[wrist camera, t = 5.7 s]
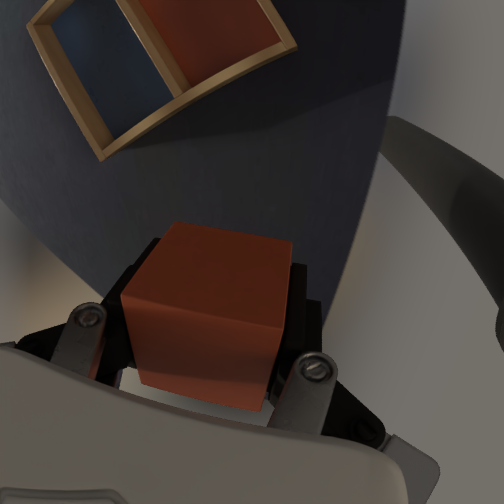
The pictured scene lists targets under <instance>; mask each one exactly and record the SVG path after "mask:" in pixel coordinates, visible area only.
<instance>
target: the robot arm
mask: <svg viewBox="0 0 504 504" xmlns="http://www.w3.org/2000/svg"><path fill="white" fill-rule="evenodd" d="M160 240H161V238H154V239H153V240H152V241H151V243H150V244H149V245H148V247H147V248H146V249H145V250H144V252H143V253H142V254H141V255H140V257H139V258H138V259H137V260H136V262H135V263H134V264H133V265H130V266H129V267H128V268H127V269H126V270H125V272H124V273H123V274H122V275H121V277H120V278H119V279H118V281H117V282H116V283H115V285H114V286H113V287H112V289H111V290H110V291H109V293H108V294H107V295H106V297H105V298H104V299H103V301H102V302H101V303H100V304H98V303H94V302H87V303H83V304H81V305H79V306H77V307H76V308H75V309H73V311H72V312H71V314H70V316H69V318H68V321H67V323H64V324H61V325H58V326H54V327H51V328H48V329H44V330H41V331H38V332H35V333H32V334H29V335H26V336H24V337H23V338H22V339H20V341H19V342H18V343H17V344H16V343H15V341H13V342H7V343H0V504H426V502H427V500H428V499H429V497H430V495H431V493H432V491H433V489H434V488H435V486H436V484H437V482H438V479H439V476H440V467H439V465H438V463H437V462H436V461H435V460H434V459H433V458H431V457H430V456H428V455H426V454H425V453H423V452H421V451H420V450H418V449H417V448H415V447H413V446H412V445H410V444H409V443H407V442H406V441H404V440H403V439H401V438H400V437H398V436H396V435H394V434H393V435H392V436H391V435H389V434H388V433H386V431H385V427H384V425H383V423H382V422H381V421H380V419H379V418H377V416H376V415H374V414H373V413H372V412H371V411H370V410H369V409H368V408H367V407H365V406H364V405H363V404H362V403H361V402H360V401H359V400H358V399H357V398H356V397H355V396H354V395H352V394H351V393H350V392H349V391H348V390H347V389H346V388H345V387H344V386H343V385H342V384H340V383H339V382H338V381H337V380H336V379H337V375H338V368H337V365H336V363H335V362H334V360H333V359H332V358H330V357H329V356H328V355H326V354H324V353H322V314H321V302H320V301H315V300H309V299H306V289H307V265H304V264H299V263H293V264H292V266H290V274H289V284H288V294H287V304H286V313H285V322H284V330H283V334H282V338H281V341H280V345H279V349H278V352H277V356H276V360H275V363H274V367H273V370H272V374H271V377H270V381H269V384H268V388H267V391H266V392H269V396H268V400H270V403H271V404H272V405H273V406H274V408H275V409H274V411H273V413H272V416H271V418H270V420H269V422H268V425H267V427H263V426H257V425H252V424H246V423H241V422H236V421H231V420H226V419H222V418H217V417H213V416H208V415H204V414H200V413H196V412H192V411H188V410H184V409H180V408H177V407H173V406H170V405H166V404H163V403H159V402H156V401H153V400H149V399H146V398H143V397H140V396H136V395H134V394H131V393H127V392H124V391H122V390H119V386H120V381H121V377H122V370H123V369H124V368H127V366H128V367H131V368H135V369H137V366H136V362H135V358H134V354H133V350H132V346H131V342H130V338H129V333H128V329H127V324H126V320H125V315H124V310H123V305H122V300H121V293H122V292H123V290H124V289H125V287H126V286H127V285H128V283H129V282H130V280H131V279H132V278H133V276H134V275H135V274H136V272H137V271H138V269H139V268H140V267H141V265H142V264H143V263H144V261H145V260H146V259H147V257H148V256H149V255H150V253H151V252H152V251H153V249H154V248H155V247H156V245H157V244H158V243H159V242H160Z"/></svg>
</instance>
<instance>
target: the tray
mask: <svg viewBox="0 0 504 504" xmlns="http://www.w3.org/2000/svg"><path fill="white" fill-rule="evenodd" d="M26 27H27V29H28V31H29V33H30V35H31V37H32V39H33V41H34V43H35V45H36V48H37V50H38V52H39V54H40V56H41V58H42V60H43V62H44V63H45V65H46V67H47V69H48V71H49V73H50V75H51V77H52V79H53V81H54V83H55V84H56V86H57V88H58V90H59V92H60V94H61V95H62V97H63V99H64V101H65V103H66V105H67V106H68V108H69V110H70V112H71V113H72V115H73V117H74V119H75V120H76V122H77V124H78V126H79V127H80V129H81V131H82V132H83V134H84V136H85V137H86V139H87V141H88V142H89V144H90V146H91V147H92V149H93V151H94V152H95V154H96V156H97V157H98V159H99V160H100V162H103V161H104V160H106V159H108V158H109V157H111V156H113V155H115V154H116V153H118V152H120V151H122V150H123V149H124V148H126V147H127V146H128V145H130V144H131V143H133V142H134V141H135V140H137V139H138V138H140V137H141V136H143V135H144V134H146V133H147V132H149V131H150V130H151V129H153V128H154V127H156V126H157V125H159V124H161V123H162V122H164V121H165V120H167V119H168V118H170V117H171V116H173V115H175V114H176V113H178V112H179V111H181V110H183V109H184V108H186V107H188V106H189V105H191V104H193V103H194V102H196V101H198V100H199V99H201V98H203V97H204V96H206V95H208V94H210V93H211V92H213V91H215V90H217V89H219V88H220V87H222V86H224V85H226V84H228V83H230V82H232V81H233V80H235V79H237V78H239V77H241V76H243V75H245V74H247V73H249V72H251V71H253V70H255V69H257V68H259V67H261V66H263V65H265V64H268V63H270V62H272V61H274V60H276V59H278V58H280V57H283V56H285V55H287V54H289V53H292V52H294V51H296V50H297V44H296V42H295V40H294V38H293V37H292V35H291V33H290V32H289V30H288V28H287V27H286V25H285V23H284V22H283V20H282V18H281V17H280V15H279V14H278V12H277V10H276V9H275V7H274V6H273V4H272V3H271V1H270V0H48V1H47V2H46V3H45V5H44V6H43V7H42V8H41V9H40V10H39V11H38V12H37V14H36V15H35V16H34V17H33V18H32V19H31V21H30V22H29V23H28V24H27V25H26Z"/></svg>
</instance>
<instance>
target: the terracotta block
mask: <svg viewBox="0 0 504 504" xmlns="http://www.w3.org/2000/svg"><path fill="white" fill-rule="evenodd" d="M291 252H292V242H291V241H286V240H281V239H275V238H269V237H264V236H258V235H252V234H247V233H241V232H235V231H230V230H224V229H218V228H212V227H206V226H200V225H194V224H188V223H182V222H174V224H173V225H172V226H171V227H170V229H169V230H168V231H167V232H166V234H165V235H164V236H163V238H162V239H161V240H160V242H159V243H158V244H157V245H156V247H155V248H154V249H153V251H152V252H151V253H150V255H149V256H148V257H147V259H146V260H145V261H144V263H143V264H142V265H141V267H140V268H139V269H138V271H137V272H136V274H135V275H134V276H133V278H132V279H131V280H130V282H129V283H128V285H127V286H126V287H125V289H124V290H123V292H122V293H121V300H122V305H123V310H124V315H125V320H126V324H127V329H128V333H129V338H130V342H131V346H132V350H133V354H134V358H135V362H136V366H137V370H138V373H139V377H140V380H141V383H142V384H144V385H147V386H150V387H154V388H157V389H161V390H165V391H168V392H172V393H175V394H179V395H183V396H186V397H191V398H194V399H198V400H203V401H207V402H211V403H216V404H220V405H225V406H230V407H235V408H240V409H245V410H251V411H256V412H260V411H261V408H262V404H263V401H264V398H265V394H266V391H267V388H268V384H269V381H270V377H271V374H272V370H273V367H274V363H275V360H276V356H277V352H278V349H279V345H280V341H281V338H282V334H283V330H284V322H285V313H286V304H287V294H288V284H289V274H290V263H291Z"/></svg>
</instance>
